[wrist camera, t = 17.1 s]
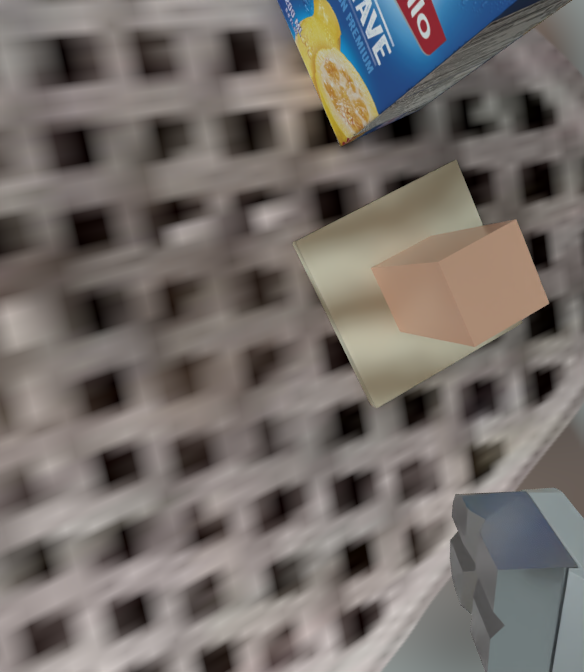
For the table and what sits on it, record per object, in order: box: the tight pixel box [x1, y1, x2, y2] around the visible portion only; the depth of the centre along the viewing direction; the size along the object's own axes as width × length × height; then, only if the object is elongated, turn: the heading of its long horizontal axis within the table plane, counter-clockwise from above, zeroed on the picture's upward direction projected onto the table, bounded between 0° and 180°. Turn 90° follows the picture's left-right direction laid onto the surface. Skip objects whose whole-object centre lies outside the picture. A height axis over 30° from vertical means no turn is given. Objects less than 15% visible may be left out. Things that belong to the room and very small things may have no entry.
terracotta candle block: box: [371, 219, 549, 347], centre depth 34 cm, size 5×5×10 cm
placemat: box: [292, 160, 522, 408], centre depth 40 cm, size 14×14×1 cm
